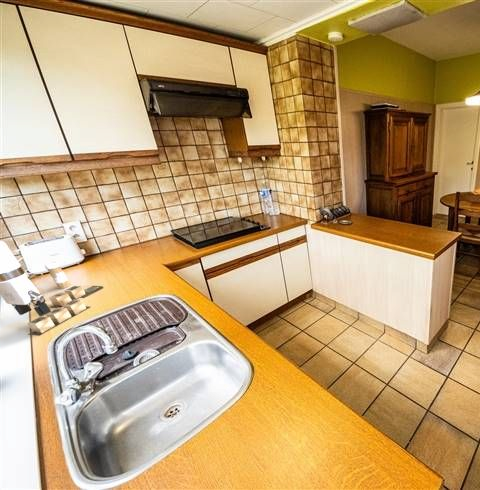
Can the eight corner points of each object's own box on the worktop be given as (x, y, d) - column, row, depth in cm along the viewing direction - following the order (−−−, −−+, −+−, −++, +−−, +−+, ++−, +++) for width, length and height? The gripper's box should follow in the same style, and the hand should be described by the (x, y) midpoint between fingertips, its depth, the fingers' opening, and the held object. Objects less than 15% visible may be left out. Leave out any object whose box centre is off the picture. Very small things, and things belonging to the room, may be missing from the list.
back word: (60, 310, 117) (54, 299, 115) (49, 309, 118) (43, 299, 116) (103, 287, 133) (98, 278, 131) (94, 287, 134) (88, 278, 132)
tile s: (41, 333, 102) (35, 323, 100) (33, 332, 102) (26, 323, 101) (55, 325, 106) (49, 316, 104) (47, 324, 106) (40, 316, 104)
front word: (40, 337, 101) (32, 326, 99) (28, 336, 102) (20, 325, 100) (92, 308, 117) (86, 298, 115) (81, 307, 118) (75, 297, 116)
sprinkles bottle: (56, 288, 135) (42, 265, 130) (68, 283, 139) (54, 261, 133) (61, 289, 133) (47, 266, 128) (73, 285, 137) (59, 262, 132)
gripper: (-26, 279, 92) (5, 318, 99) (11, 281, 89) (40, 321, 96) (4, 269, 99) (31, 306, 106) (40, 270, 96) (65, 308, 103)
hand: (35, 313), depth 101 cm, fingers open, 9 cm apart
